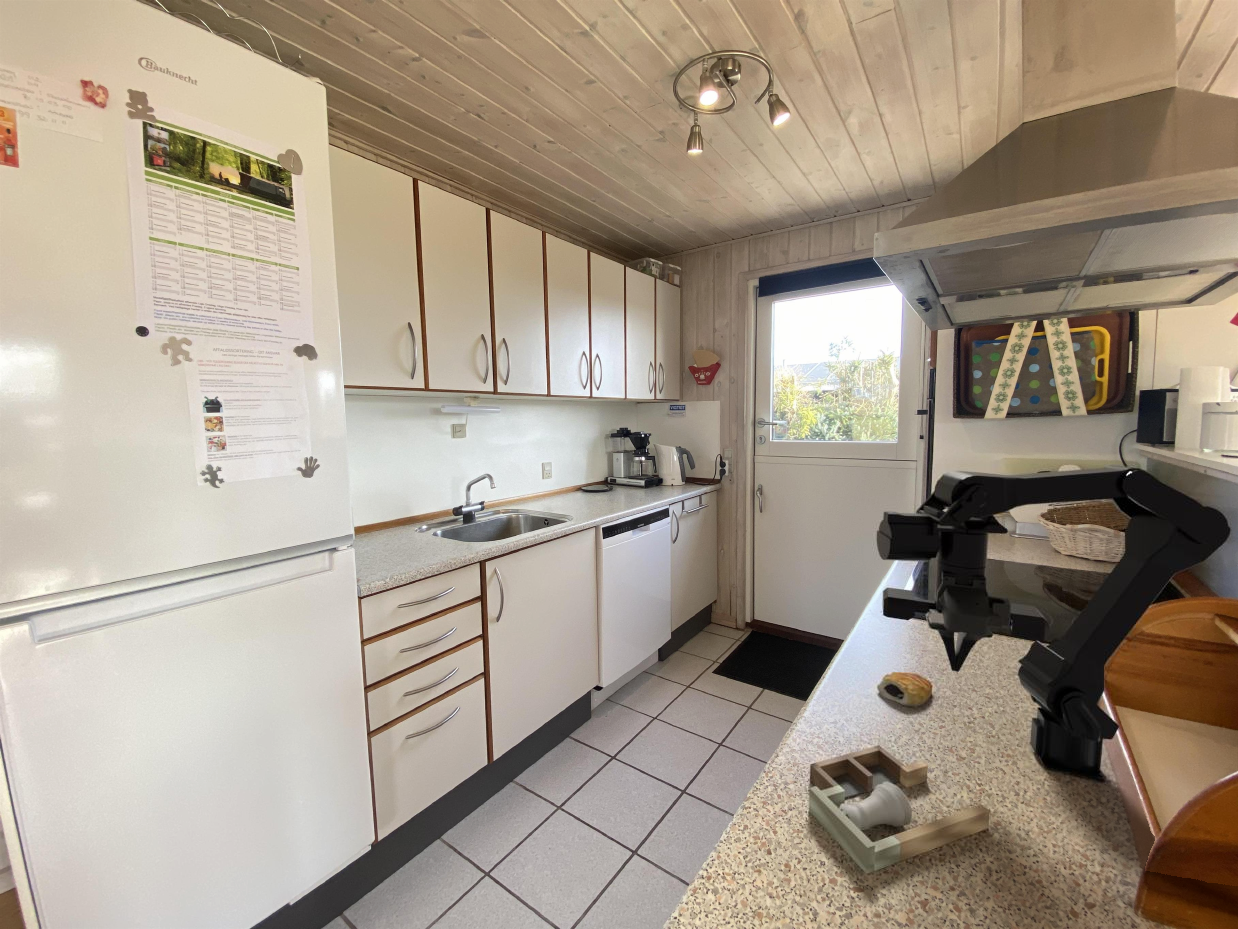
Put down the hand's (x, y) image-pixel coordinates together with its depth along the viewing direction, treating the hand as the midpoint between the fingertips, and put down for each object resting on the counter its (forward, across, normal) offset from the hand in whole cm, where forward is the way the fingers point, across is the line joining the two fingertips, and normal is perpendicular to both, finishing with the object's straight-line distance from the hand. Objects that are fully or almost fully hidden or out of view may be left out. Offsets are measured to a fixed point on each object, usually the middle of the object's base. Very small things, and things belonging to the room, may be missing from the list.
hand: (954, 670), depth 71 cm
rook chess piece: (+10, -7, -17) cm, 21 cm away
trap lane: (+12, -9, -16) cm, 22 cm away
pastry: (+12, -5, +14) cm, 19 cm away
